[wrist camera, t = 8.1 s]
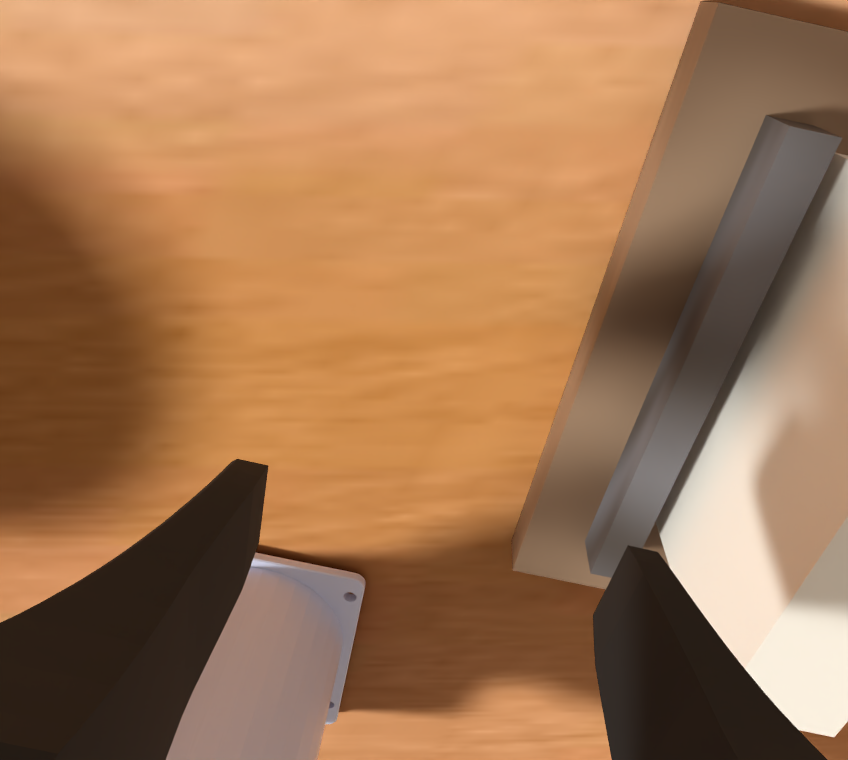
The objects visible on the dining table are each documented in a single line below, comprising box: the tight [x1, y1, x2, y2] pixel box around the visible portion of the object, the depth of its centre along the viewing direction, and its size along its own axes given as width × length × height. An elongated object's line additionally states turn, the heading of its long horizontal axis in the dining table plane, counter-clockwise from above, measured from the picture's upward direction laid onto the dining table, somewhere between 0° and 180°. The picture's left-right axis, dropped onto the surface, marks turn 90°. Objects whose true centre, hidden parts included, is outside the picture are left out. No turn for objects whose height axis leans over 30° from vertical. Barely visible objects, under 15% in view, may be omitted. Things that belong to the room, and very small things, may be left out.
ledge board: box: [512, 1, 848, 589], centre depth 20 cm, size 18×11×3 cm, turn 169°
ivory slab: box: [655, 153, 848, 737], centre depth 17 cm, size 12×3×7 cm, turn 169°
